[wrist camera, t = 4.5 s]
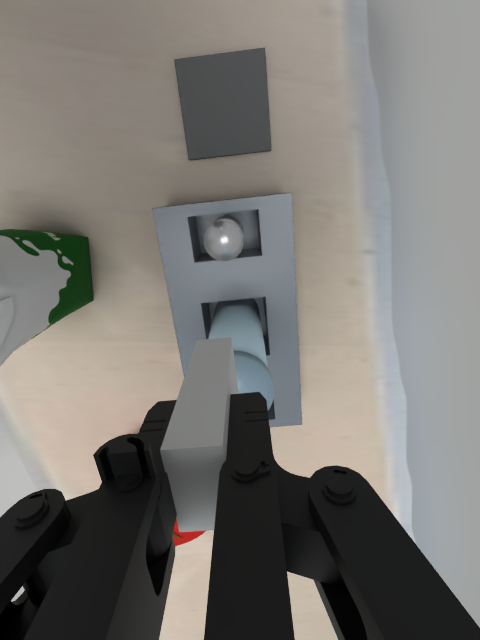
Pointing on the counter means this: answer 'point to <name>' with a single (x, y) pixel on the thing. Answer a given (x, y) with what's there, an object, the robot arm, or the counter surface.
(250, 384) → the cartridge
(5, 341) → the milk carton
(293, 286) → the housing
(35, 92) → the counter surface
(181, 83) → the mat
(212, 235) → the plunger
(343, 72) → the counter surface
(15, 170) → the counter surface
